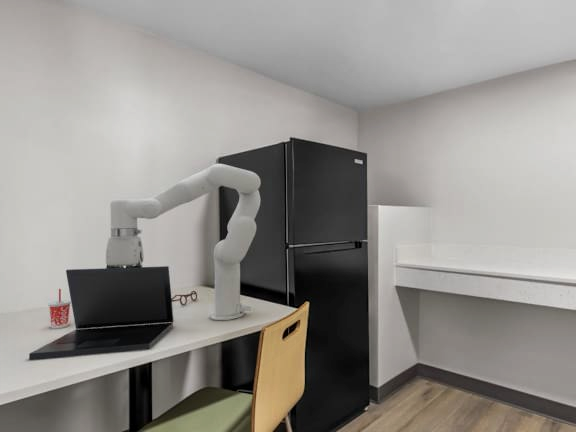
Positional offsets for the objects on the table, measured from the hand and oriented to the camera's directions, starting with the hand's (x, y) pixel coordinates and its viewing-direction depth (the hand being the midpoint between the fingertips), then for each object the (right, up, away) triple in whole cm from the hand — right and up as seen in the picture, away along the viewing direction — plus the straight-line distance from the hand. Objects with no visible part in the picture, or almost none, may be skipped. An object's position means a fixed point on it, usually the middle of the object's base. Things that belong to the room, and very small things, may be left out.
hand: (124, 284), depth 122 cm
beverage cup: (-29, -17, +6) cm, 34 cm away
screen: (0, -4, -1) cm, 4 cm away
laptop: (+2, -17, -9) cm, 19 cm away
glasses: (-6, -17, +40) cm, 44 cm away
